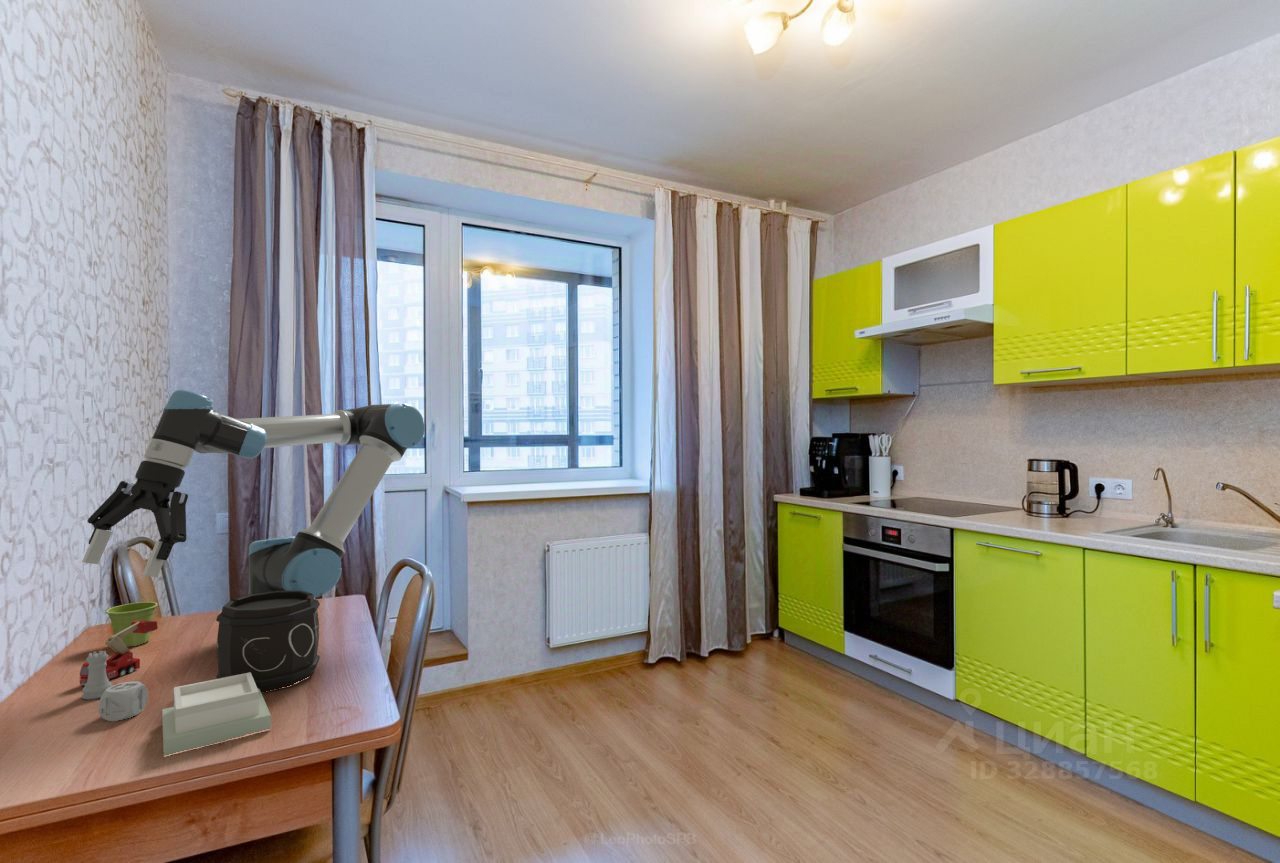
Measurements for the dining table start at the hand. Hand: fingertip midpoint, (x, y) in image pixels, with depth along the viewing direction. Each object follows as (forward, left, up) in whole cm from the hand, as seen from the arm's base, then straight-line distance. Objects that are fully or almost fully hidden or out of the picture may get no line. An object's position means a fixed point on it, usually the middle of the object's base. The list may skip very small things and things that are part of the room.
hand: (119, 569), depth 121 cm
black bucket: (-24, +12, -23) cm, 35 cm away
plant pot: (-2, -33, -23) cm, 40 cm away
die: (-1, +15, -23) cm, 28 cm away
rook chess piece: (+3, +1, -23) cm, 23 cm away
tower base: (-13, +32, -23) cm, 41 cm away
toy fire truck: (0, -10, -23) cm, 25 cm away
